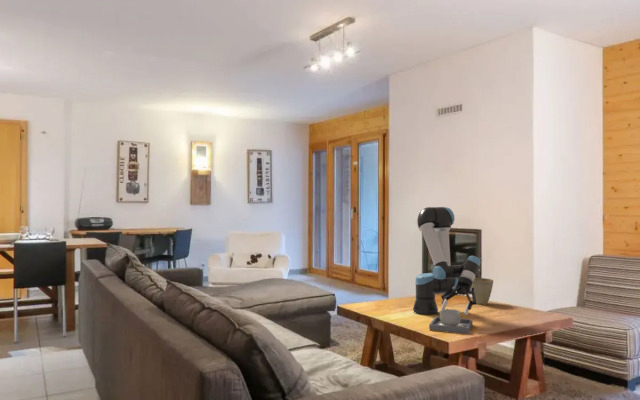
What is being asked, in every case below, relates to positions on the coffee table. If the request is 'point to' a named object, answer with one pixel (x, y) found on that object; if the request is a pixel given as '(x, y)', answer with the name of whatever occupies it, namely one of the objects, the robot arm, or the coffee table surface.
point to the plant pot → (482, 289)
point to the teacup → (450, 317)
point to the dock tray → (460, 328)
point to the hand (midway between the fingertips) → (453, 312)
